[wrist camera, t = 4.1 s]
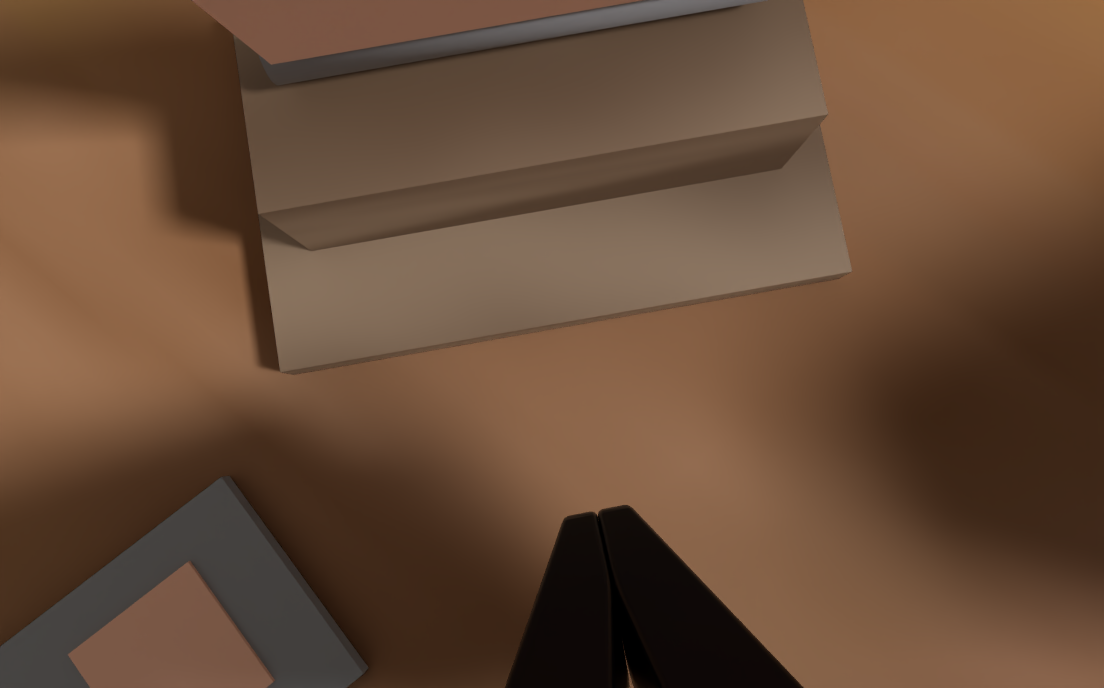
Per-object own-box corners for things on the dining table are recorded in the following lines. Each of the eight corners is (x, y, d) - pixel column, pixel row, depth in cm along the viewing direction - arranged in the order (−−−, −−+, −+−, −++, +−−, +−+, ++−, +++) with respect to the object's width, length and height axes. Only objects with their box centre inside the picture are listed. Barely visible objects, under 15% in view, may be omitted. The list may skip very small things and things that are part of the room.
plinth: (838, 278, 17) (915, 238, 13) (293, 374, 17) (218, 360, 13) (764, -63, 18) (817, -190, 14) (244, 28, 18) (161, -77, 14)
